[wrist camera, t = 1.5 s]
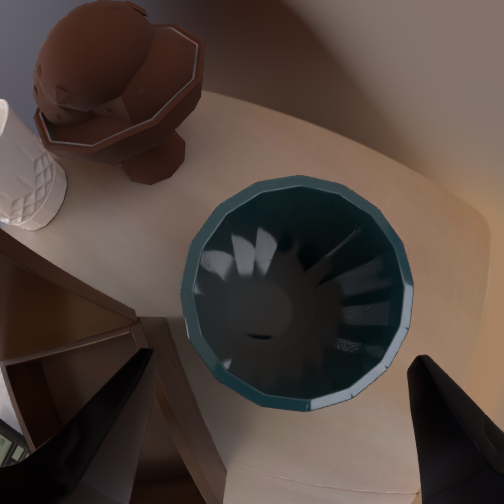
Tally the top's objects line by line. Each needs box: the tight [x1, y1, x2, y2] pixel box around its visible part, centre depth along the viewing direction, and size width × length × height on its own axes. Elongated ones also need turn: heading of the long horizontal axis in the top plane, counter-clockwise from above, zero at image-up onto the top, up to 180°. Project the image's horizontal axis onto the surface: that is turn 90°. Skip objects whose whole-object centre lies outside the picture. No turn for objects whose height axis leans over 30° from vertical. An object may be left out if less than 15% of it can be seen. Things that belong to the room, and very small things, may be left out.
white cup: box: [0, 99, 67, 231], centre depth 16 cm, size 8×8×10 cm
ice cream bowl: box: [33, 0, 205, 185], centre depth 15 cm, size 11×11×15 cm
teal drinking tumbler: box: [180, 175, 414, 412], centre depth 14 cm, size 7×7×12 cm
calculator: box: [0, 419, 32, 467], centre depth 14 cm, size 9×12×3 cm
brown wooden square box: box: [0, 316, 227, 504], centre depth 15 cm, size 12×12×5 cm
